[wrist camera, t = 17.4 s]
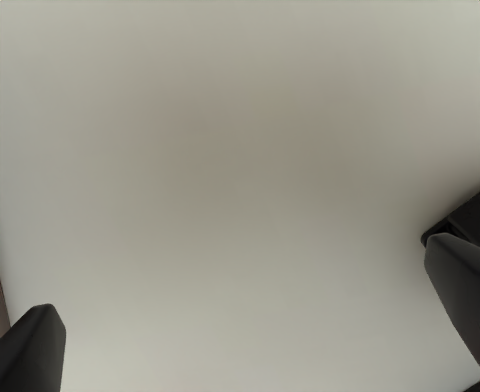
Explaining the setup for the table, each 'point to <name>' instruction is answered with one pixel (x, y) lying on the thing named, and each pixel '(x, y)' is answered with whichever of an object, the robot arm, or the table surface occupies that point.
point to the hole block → (3, 315)
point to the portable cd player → (474, 388)
